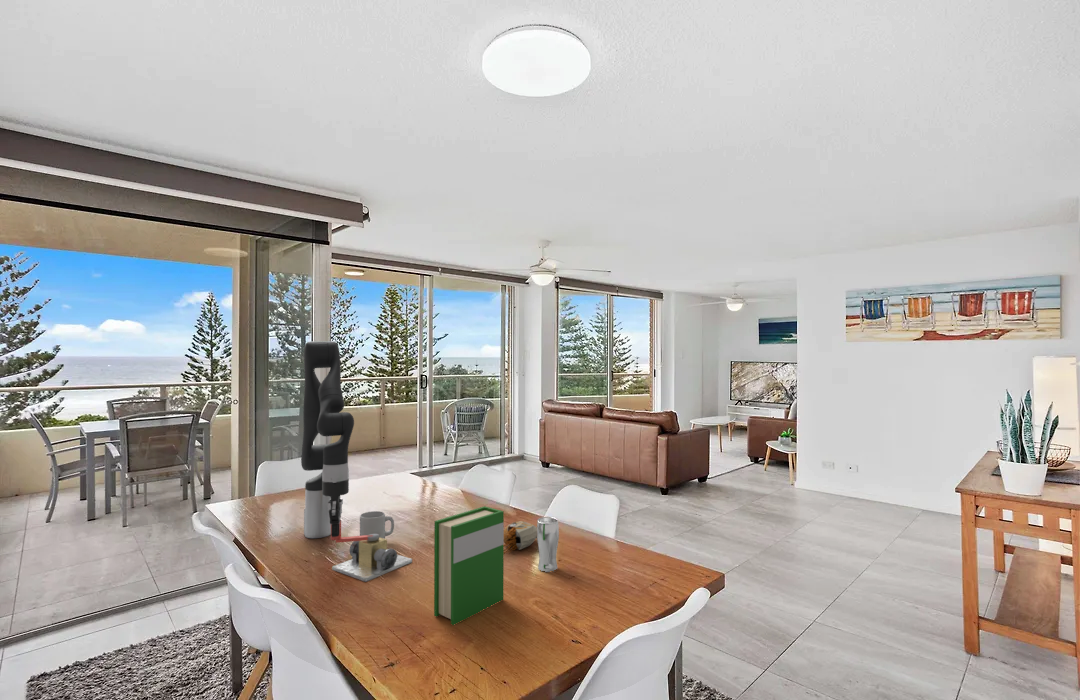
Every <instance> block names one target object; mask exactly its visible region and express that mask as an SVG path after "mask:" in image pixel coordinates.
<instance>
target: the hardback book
mask: <svg viewBox="0 0 1080 700" xmlns="http://www.w3.org/2000/svg"><path fill="white" fill-rule="evenodd" d="M504 517H505V516H504V510H500V509H497V508H492V507H489V506H486V505H485V506H482V507H478V508H477V507H476V508H474V509H471V510H467V511H463V512H460V513H456V514H455V515H451V516H447V517H444V518H443V517H442V518H441V519H437V520H434V529H433V530H434V534H433V535H434V536H433V537H434V546H433V547H434V548H433V549H434V551H433V552H434V553H433V555H434V562H433V563H434V564H433V565H434V567H433V568H434V569H433V571H434V572H433V574H434V575H433V576H434V577H433V579H434V580H433V582H434V583H433V585H434V586H433V587H434V588H433V589H434V591H433V592H434V593H433V596H434V597H433V598H434V599H433V603H434V604H433V615H434V617H435V616H436V617H435V618H438V617H439V615H440V616H443V617H445V618H448V619H450V625H451V624H452V626H455V625H457V624H459V623H461V622H463V621H465V620H467V619H469V618H471V617H472V615H473V616H474V614H475V615H476V613H477V614H479V613H481V612H483V611H484V610H483V609H485V610H487V609H488V608H487V607H489V608H491V607H492V606H491V605H493V604H495V603H497V602H499V601H501V600H503V601H504V573H505V572H504V559H505V558H504V555H505V553H504V552H505V551H504V550H505V549H504V548H505V546H504V545H505V543H504V528H505V527H504V523H505V521H504V519H505V518H504ZM501 602H502V601H501ZM499 603H500V602H499ZM497 604H498V603H497ZM495 605H496V604H495ZM490 606H491V607H490ZM493 606H494V605H493ZM486 608H487V609H486ZM482 610H483V611H482ZM480 611H481V612H480ZM478 612H479V613H478ZM437 616H438V617H437ZM470 616H471V617H470ZM468 617H469V618H468ZM466 618H467V619H466ZM464 619H465V620H464ZM462 620H463V621H462ZM460 621H461V622H460ZM458 622H459V623H458ZM456 623H457V624H456ZM454 624H455V625H454Z"/></svg>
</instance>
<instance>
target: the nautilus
mask: <svg viewBox="0 0 1080 700" xmlns="http://www.w3.org/2000/svg"><path fill="white" fill-rule="evenodd" d="M536 540H537V525H534V524H533V523H530V522H527V521H524V520H523V521H522V520H519V521H515V522H514V521H513V522H511V523H509V524H508V525H506V526H505V527H504V547H507V548H506V549H504V554H505V553H506V554H507V553H508V555H510V553H512V552H514V551H515V550H522V549H526V548H527V547H529V546H531V545H533V544H534V542H535V541H536Z"/></svg>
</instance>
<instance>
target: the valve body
mask: <svg viewBox="0 0 1080 700" xmlns="http://www.w3.org/2000/svg"><path fill="white" fill-rule="evenodd" d="M349 555H350V556H351V559H349V560H346V561H344V562H340V563H337V564H336V565H333V566H332V567H331V568H332V569H331V570H332V571H335V572H338V573H341V574H343V575H346V576H349V577H351V578H353V579H357V580H360V581H362V582H363V583H365V582H369V581H371V580H374V579H375V578H378V577H380V576H383V575H385V574H387V573H389V572H392V571H395V570H397V569H399V568H402V567H404V566H406V565H409V564H411V563H413V558H410V557H406V556H403V555H400V554H398V552H397V551H396V549H394V548H389V547H388V539H386V538H385V539H384V538H380V537H379V540H377V541H367V540H364V541H352V543H351V544H350V545H349Z"/></svg>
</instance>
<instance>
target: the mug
mask: <svg viewBox="0 0 1080 700" xmlns="http://www.w3.org/2000/svg"><path fill="white" fill-rule="evenodd" d="M388 521H389V522H390V529H389V530H386V522H388ZM394 529H395V520H394V518H393V517H392V516H390V515H386V514H385V512H383V511H379V510H378V511H377V510H373V511H366V512H364V513H361V514H360V515H359V536H363V535H370V534H379V537H380V538H384V539H386V537H387V536H388V537H389V536H391V535H392V534H393V532H394Z"/></svg>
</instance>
